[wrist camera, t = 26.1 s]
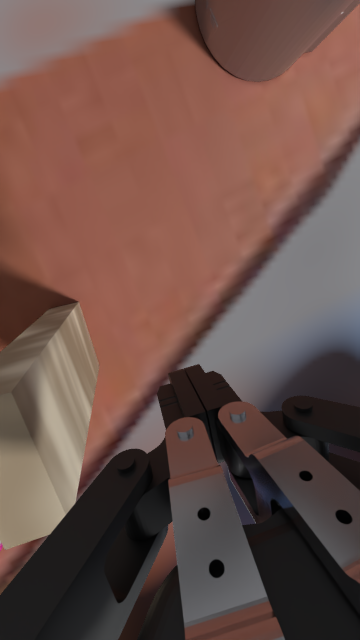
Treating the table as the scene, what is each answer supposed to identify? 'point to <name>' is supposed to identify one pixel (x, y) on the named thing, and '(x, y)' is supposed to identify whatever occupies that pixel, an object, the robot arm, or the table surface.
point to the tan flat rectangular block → (44, 422)
